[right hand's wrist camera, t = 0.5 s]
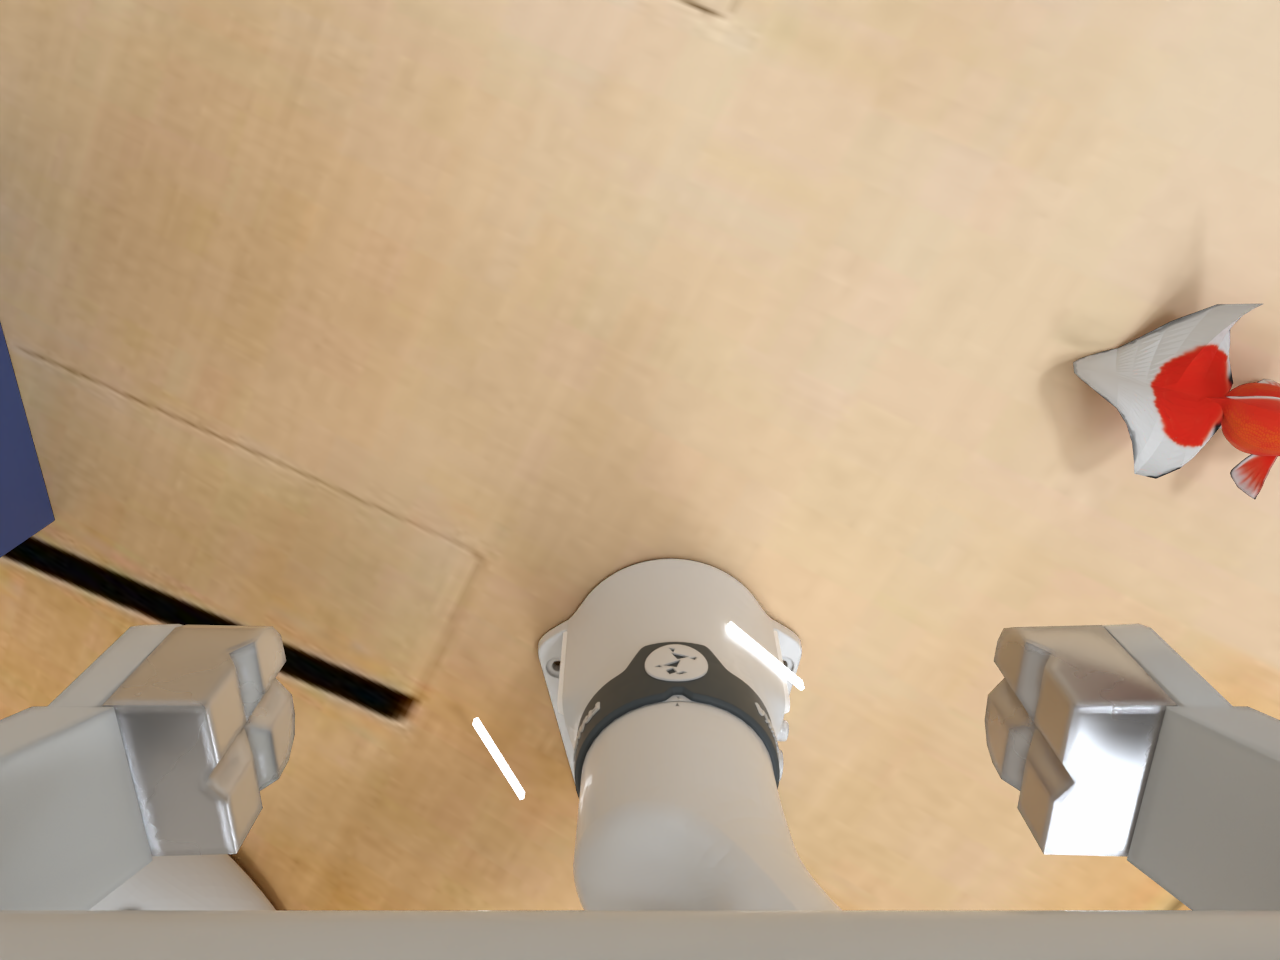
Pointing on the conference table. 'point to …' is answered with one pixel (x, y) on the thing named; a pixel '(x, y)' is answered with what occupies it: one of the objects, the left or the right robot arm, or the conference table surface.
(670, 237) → the conference table surface
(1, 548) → the box
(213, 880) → the white slotted rounded shell
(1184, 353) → the fish
